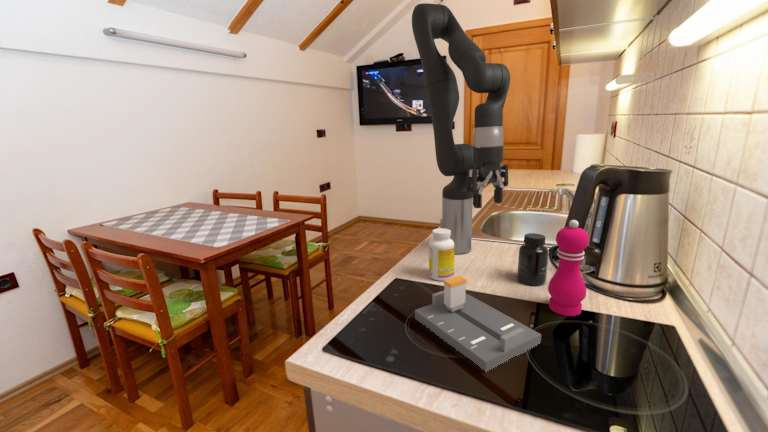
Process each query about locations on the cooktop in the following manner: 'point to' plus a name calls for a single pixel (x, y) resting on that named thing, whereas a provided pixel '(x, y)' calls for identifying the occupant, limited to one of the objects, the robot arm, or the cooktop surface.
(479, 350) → the fader console
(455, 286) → the fader knob
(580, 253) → the pepper mill
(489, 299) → the cooktop surface
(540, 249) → the supplement bottle
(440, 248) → the supplement bottle
